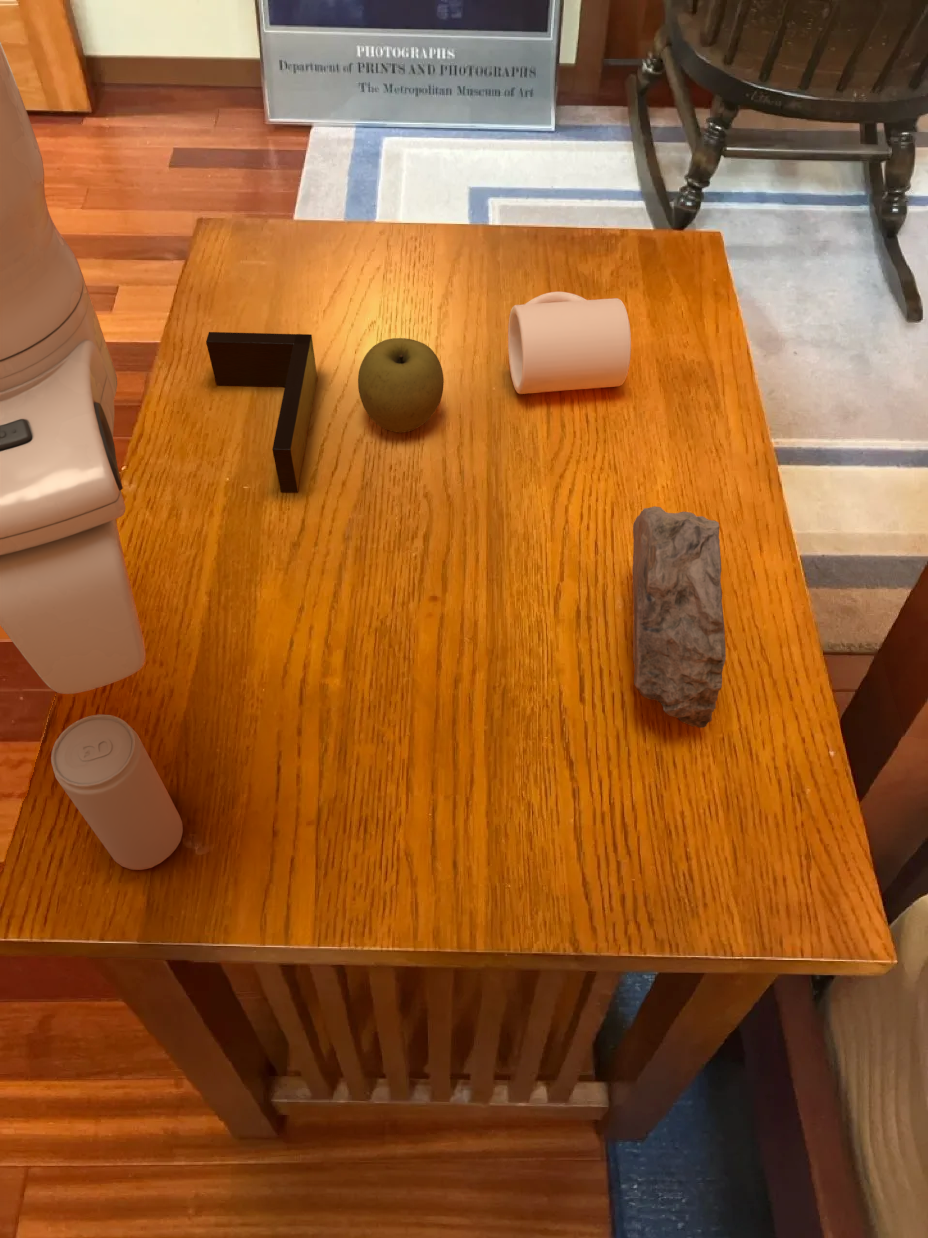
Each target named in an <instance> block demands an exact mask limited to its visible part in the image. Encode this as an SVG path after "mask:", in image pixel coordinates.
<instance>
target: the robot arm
mask: <svg viewBox="0 0 928 1238" xmlns="http://www.w3.org/2000/svg"><path fill="white" fill-rule="evenodd" d="M34 131H35V130H34V129H33V125H32V123H31V121H30V117H29V114H28V111H27V108H26V105H25V102H24V101H23V97H22V95H21V92H20V89H19V87H18V84H17V81H16V79H15V76H14V73H13V70H12V68H11V66H10V63H9V61H8V57H7V55H6V52H5V49H4V47H3V44H2V42H1V41H0V627H1V628H2V630H3V631H4V632H5V634H6V635H7V636H8V638H9V639H10V641H11V642H12V643H13V645H14V646H15V648H17V650H18V651H19V652H20V654H21V656H22V657H23V658H24V659H25V660H26V662H27V663H28V665H30V667H31V668H32V669H33V670H34V672H35V673H36V674H37V675H38V677H39V678H40V679H41V681H42V682H43V683H44V684H45V685H46V686H47V687H48V688H49V689H51V691H54V692H56V693H58V694H60V695H61V694H62V695H73V694H79V693H85V692H89V691H92V690H94V689H99V688H101V687H105V686H108V685H110V684H113V683H117V682H118V681H121V680H124V679H126V678H129V677H130V676H132V675H134V674H136V673H137V672H139V671H140V670H141V669H142V668H143V667H144V666H145V663H146V657H147V654H146V645H145V640H144V635H143V631H142V625H141V622H140V618H139V614H138V610H137V605H136V601H135V598H134V594H133V589H132V585H131V584H132V583H131V581H130V576H129V572H128V569H127V565H126V560H125V556H124V552H123V546H122V542H121V537H120V533H119V528H118V523H117V519H120V518H122V517H123V516H124V515H125V513H126V502H125V500H124V496H123V493H122V490H123V489H124V488H123V487H124V486H123V483H122V480H121V475H120V471H119V466H118V461H117V454H116V453H117V452H116V445H115V441H114V428H115V398H116V394H117V390H118V375H117V371H116V368H115V365H114V361H113V359H112V356H111V353H110V350H109V347H108V344H107V341H106V339H105V336H104V332H103V330H102V327H101V324H100V321H99V318H98V315H97V312H96V308H95V306H94V303H93V300H92V297H91V295H90V292H89V289H88V286H87V284H86V280H85V277H84V274H83V271H82V269H81V266H80V263H79V260H78V259H77V256H76V254H75V253H74V252H73V250H72V248H71V247H70V245H69V244H68V242H67V240H66V239H65V237H64V236H63V235H62V234H61V232H60V231H59V229H58V228H57V227H56V224H55V222H54V221H53V218H52V216H51V214H50V211H49V208H48V203H47V198H46V190H45V169H44V162H43V161H44V160H43V156H42V153H41V149H40V146H39V142H38V140H37V137H36V134H35V132H34Z"/></svg>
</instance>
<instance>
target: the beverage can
mask: <svg viewBox="0 0 928 1238" xmlns="http://www.w3.org/2000/svg"><path fill="white" fill-rule="evenodd" d="M50 754H51V755H50V756H51V757H50V763H51V766H52V770H53V773H54V777H55V779H56V780H57V782H58V783H59V785H60V787H61V788H62V789H63V791H64V792H65V793H66V795H67V796H68V797H69V799H70V800H71V801H72V803H73V805H74V806H75V808H76V809H77V810H78V811H79V813H80V814H81V817H83V818H84V821H85V822H86V823H87V825H88V826H89V827H90V828H91V830H92V831H93V833H94V834H95V835H96V837H97V838H98V840H99V841H100V843H101V844H102V845H103V847H104V849H106V851H107V852H108V854H109V855H110V856H111V858H112V859H113V861H114V862H115V863H117V864H118V865H120V866H121V867H123V868H126V869H129V870H131V871H134V870H135V871H138V870H139V871H143V870H147V869H152V868H154V867H156V866H158V865H159V864H161V863H162V862H164V861H165V860H167V858H169V857H170V856H171V855H172V854H173V853H174V851H175V850H176V849H177V848H178V846H179V844H180V843H181V841H182V838H183V837H182V836H183V832H184V828H183V827H184V826H183V821H182V818H181V815H180V814H179V812H178V809H177V808H176V805H175V803H174V802H173V800H172V798H171V796H170V794H169V793H168V789H166V786H165V784H164V783H163V782H164V781H162V779H161V777H160V774H159V773H158V771H157V769H156V767H155V766H154V765H155V764H154V763H153V761H152V759H151V758H150V755H149V754H148V752H147V750H146V748H145V746H144V744H143V742H142V740H141V738H140V736H139V734H138V733H137V732H136V731H135V730H134V729H133V727H132V726H131V725H129V723H128V722H126V721H125V720H124V719H122V718H120V717H118V716H115V715H112V714H93V715H88V716H86V717H83V718H80V719H77V720H76V721H75V722H73V723H72V724H70V725H68V726H67V727H66V728H65V729H64V730H63V731H62V732H61V733H60V734H59V736H58V738H57V739H56V740H55V742H54V744H53V747H52V750H51V753H50Z"/></svg>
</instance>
